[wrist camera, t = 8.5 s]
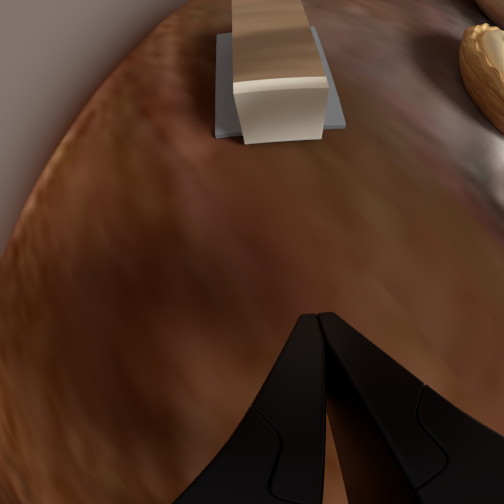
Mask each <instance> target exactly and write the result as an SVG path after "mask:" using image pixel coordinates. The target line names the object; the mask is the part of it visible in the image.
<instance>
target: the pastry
mask: <svg viewBox="0 0 504 504" xmlns="http://www.w3.org/2000/svg"><path fill="white" fill-rule="evenodd" d="M459 65H460V70H461V74H462V78H463V82H464V85H465V88H466V90H467V92H468V94H469V95H470V97H471V99H472V100H473V102H474V103H475V104H476V106H477V107H478V108H479V110H480V111H481V112H482V113H483V115H484V116H485V117H486V118H487V119H488V120H489V121H490V122H491V123H492V124H493V125H494V126H495V127H496V128H497V129H498V130H499V131H501V132H502V133H503V134H504V31H503V30H500V29H499V28H498V27H495V26H489V25H488V24H487V23H484V24H481V25H476V26H472V27H469V28H467V29H465V31H464V34H463V38H462V42H461V45H460V51H459Z"/></svg>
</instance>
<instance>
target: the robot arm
mask: <svg viewBox="0 0 504 504" xmlns="http://www.w3.org/2000/svg"><path fill="white" fill-rule="evenodd" d="M326 410H327V414H328V418H329V422H330V426H331V430H332V434H333V439H334V443H335V447H336V451H337V455H338V459H339V464H340V468H341V472H342V476H343V481H344V485H345V490H346V494H347V499H348V503H349V504H504V436H502V435H500V434H499V433H497V432H495V431H494V430H492V429H490V428H489V427H487V426H486V425H484V424H482V423H481V422H479V421H477V420H476V419H474V418H473V417H471V416H470V415H468V414H466V413H465V412H463V411H462V410H460V409H459V408H457V407H456V406H454V405H453V404H452V403H450V402H449V401H448V400H446V399H445V398H444V397H442V396H441V395H439V394H438V393H437V392H436V391H434V390H433V389H432V388H430V387H429V386H428V385H424V383H423V382H422V381H421V380H419V379H418V378H417V377H416V376H414V375H413V374H412V373H410V372H409V371H408V370H407V369H405V368H404V367H403V366H401V365H400V364H399V363H398V362H396V361H395V360H394V359H393V358H391V357H390V356H389V355H387V354H386V353H385V352H384V351H382V350H381V349H380V348H378V347H377V346H376V345H375V344H373V343H372V342H371V341H370V340H368V339H367V338H366V337H364V336H363V335H362V334H361V333H359V332H358V331H357V330H355V329H354V328H353V327H352V326H350V325H349V324H348V323H347V322H345V321H344V320H343V319H341V318H340V317H339V316H338V315H336V314H335V313H333V312H324V313H318V314H317V315H316V314H314V313H313V314H302V315H300V317H299V318H298V320H297V322H296V324H295V326H294V328H293V330H292V332H291V334H290V336H289V338H288V339H287V341H286V343H285V345H284V347H283V349H282V351H281V353H280V354H279V356H278V358H277V360H276V362H275V364H274V365H273V367H272V369H271V371H270V373H269V374H268V376H267V378H266V380H265V382H264V383H263V385H262V387H261V389H260V390H259V392H258V394H257V396H256V397H255V399H254V401H253V403H252V404H251V407H249V409H248V410H247V412H246V414H245V415H244V417H243V419H242V420H241V422H240V423H239V425H238V426H237V428H236V429H235V431H234V432H233V434H232V435H231V437H230V438H229V440H228V441H227V442H226V443H225V445H224V446H223V447H222V448H221V450H220V451H219V452H218V453H217V455H216V456H215V457H214V458H213V460H212V461H211V462H210V463H209V464H208V465H207V466H206V467H205V469H204V470H203V471H202V472H201V473H200V474H199V475H198V476H197V477H196V478H195V480H194V481H193V482H192V483H191V484H190V485H189V486H188V487H187V488H186V489H185V490H184V491H183V492H182V493H181V494H180V495H179V496H178V498H177V499H176V500H175V501H174V502H173V503H172V504H322V502H323V487H324V469H325V444H326Z"/></svg>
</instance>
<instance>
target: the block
mask: <svg viewBox="0 0 504 504" xmlns="http://www.w3.org/2000/svg"><path fill="white" fill-rule="evenodd" d="M232 49H233V95H234V99H235V103H236V107H237V112H238V116H239V120H240V125H241V129H242V133H243V138H244V142H245V144H254V143H265V142H278V141H293V140H312V139H322V133H323V126H324V120H325V113H326V106H327V99H328V92H329V85H328V82H327V78H326V75H325V72H324V68H323V65H322V62H321V58H320V55H319V52H318V49H317V46H316V43H315V40H314V37H313V34H312V31H311V28H310V25H309V22H308V19H307V17H306V14H305V11H304V8H303V6H302V3H301V0H232Z"/></svg>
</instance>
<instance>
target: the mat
mask: <svg viewBox="0 0 504 504" xmlns="http://www.w3.org/2000/svg"><path fill="white" fill-rule="evenodd" d="M310 28H311V31H312V34H313V37H314V40H315V43H316V46H317V49H318V52H319V55H320V58H321V62H322V65H323V68H324V72H325V75H326V78H327V82H328V85H329V92H328V99H327V106H326V113H325V120H324V126H323V129H345V127H346V123H345V119H344V115H343V112H342V108H341V105H340V101H339V98H338V95H337V91H336V88H335V85H334V82H333V78H332V75H331V72H330V69H329V66H328V63H327V60H326V57H325V54H324V51H323V49H322V46H321V43H320V40H319V38H318V35H317V32H316V30H315V27H314V26H311V27H310ZM242 135H243V133H242V129H241V125H240V120H239V116H238V112H237V107H236V103H235V99H234V95H233V49H232V32H230V33H223V34H217V44H216V91H215V136H216V139H218V138H225V137H233V136H242Z"/></svg>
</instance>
